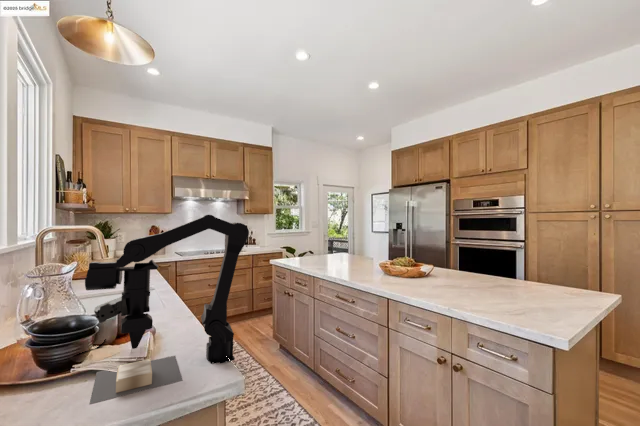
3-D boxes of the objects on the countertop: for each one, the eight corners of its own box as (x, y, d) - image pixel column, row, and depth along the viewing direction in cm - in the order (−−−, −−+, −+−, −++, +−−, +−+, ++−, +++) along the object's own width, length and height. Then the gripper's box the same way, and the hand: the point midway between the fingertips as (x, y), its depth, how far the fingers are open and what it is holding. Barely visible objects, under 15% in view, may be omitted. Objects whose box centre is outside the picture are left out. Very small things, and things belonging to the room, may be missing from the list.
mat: (175, 357, 84) (175, 355, 84) (182, 382, 71) (182, 380, 71) (96, 374, 74) (96, 371, 74) (89, 407, 61) (89, 404, 61)
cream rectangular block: (150, 358, 76) (152, 372, 69) (150, 369, 76) (151, 384, 69) (117, 365, 72) (116, 380, 65) (117, 377, 72) (115, 393, 65)
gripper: (100, 283, 78) (97, 341, 78) (94, 300, 63) (91, 373, 63) (148, 279, 85) (146, 333, 84) (153, 293, 69) (151, 360, 69)
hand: (134, 348), depth 75 cm, fingers closed
